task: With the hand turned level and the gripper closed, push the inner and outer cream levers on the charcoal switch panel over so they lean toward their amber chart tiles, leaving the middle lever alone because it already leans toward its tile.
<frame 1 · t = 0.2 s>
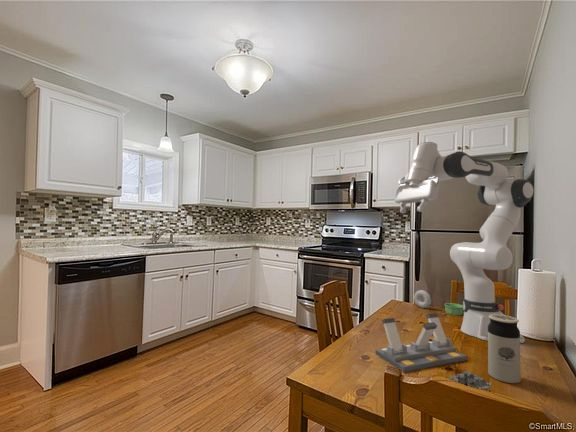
hand: (410, 212, 118), 51 cm above the table, tool tilted 20°, fingers open, 8 cm apart
lever inner: (437, 328, 110), point 8 cm above the table, hinge at -28.0°
lever outer: (392, 334, 103), point 8 cm above the table, hinge at -28.0°
travel mug: (503, 378, 91), on the table
ramekin: (453, 313, 159), on the table
switch panel: (420, 357, 105), on the table
lever middle: (425, 336, 103), point 8 cm above the table, hinge at 28.0°
egg carton: (468, 393, 83), on the table
donut: (422, 308, 169), on the table
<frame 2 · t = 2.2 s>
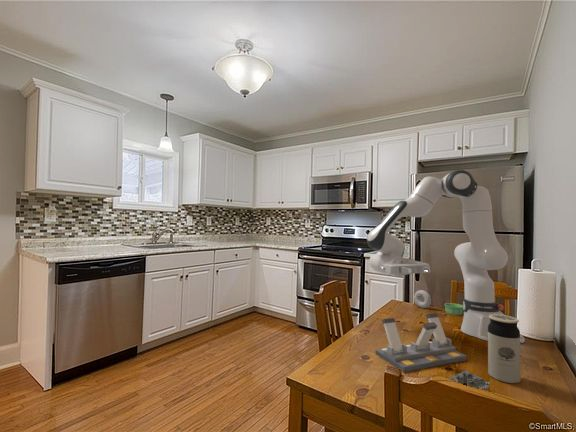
hand: (420, 271, 118), 28 cm above the table, tool horizontal, fingers open, 7 cm apart
nothing on the table moved.
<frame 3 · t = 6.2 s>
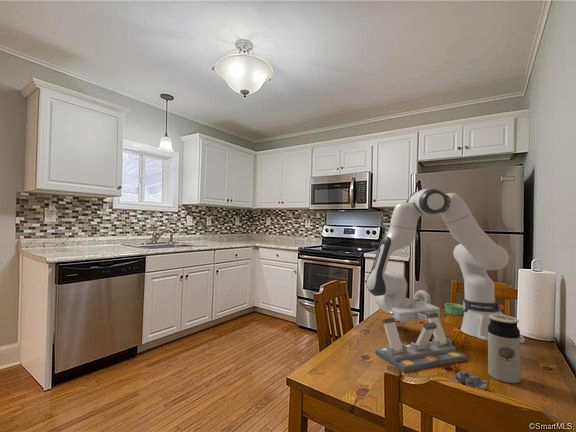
hand: (431, 318, 113), 11 cm above the table, tool horizontal, fingers closed, pressing on lever inner
lever inner: (437, 328, 110), point 8 cm above the table, hinge at -27.4°, touching gripper
everything else where it was.
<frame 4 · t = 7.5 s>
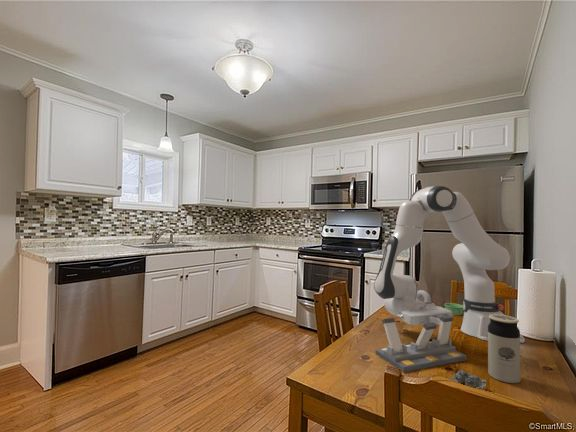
hand: (443, 322, 107), 11 cm above the table, tool horizontal, fingers closed, pressing on lever inner
lever inner: (444, 330, 107), point 8 cm above the table, hinge at 13.0°, touching gripper
everything else where it was.
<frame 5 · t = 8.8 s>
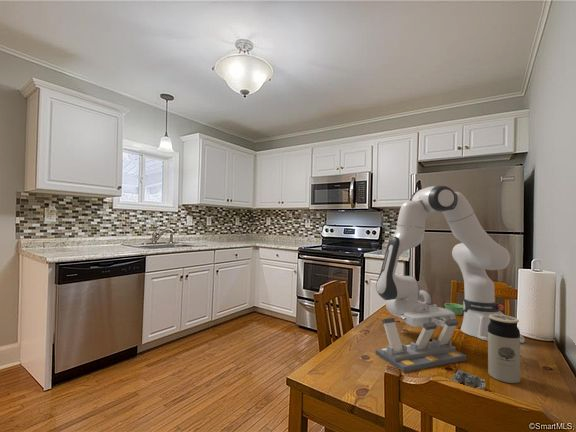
hand: (447, 324, 106), 11 cm above the table, tool horizontal, fingers closed
lever inner: (446, 332, 106), point 8 cm above the table, hinge at 26.6°
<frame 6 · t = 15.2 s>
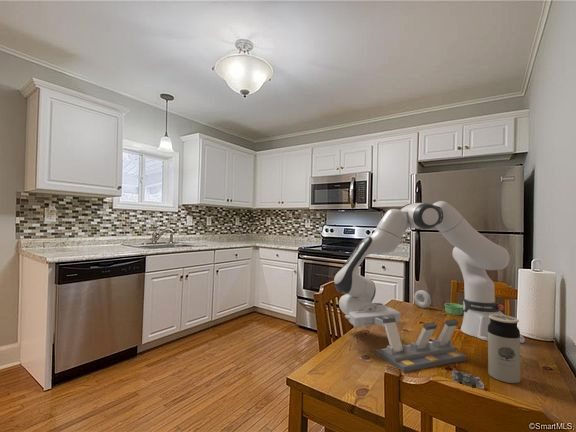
hand: (387, 324, 106), 11 cm above the table, tool horizontal, fingers closed, pressing on lever outer
lever outer: (392, 334, 103), point 8 cm above the table, hinge at -25.7°, touching gripper
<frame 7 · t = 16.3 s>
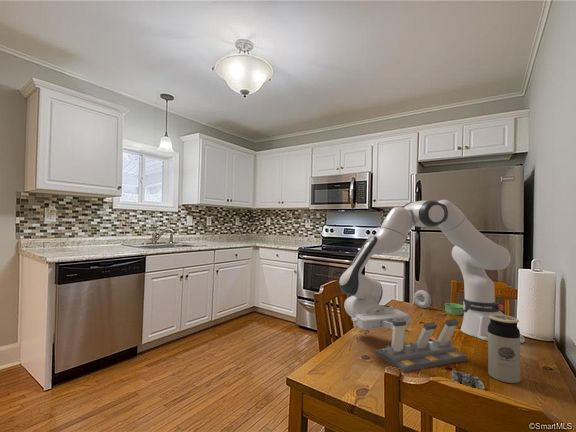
hand: (397, 327, 101), 11 cm above the table, tool horizontal, fingers closed, pressing on lever outer
lever outer: (398, 336, 101), point 8 cm above the table, hinge at 7.1°, touching gripper
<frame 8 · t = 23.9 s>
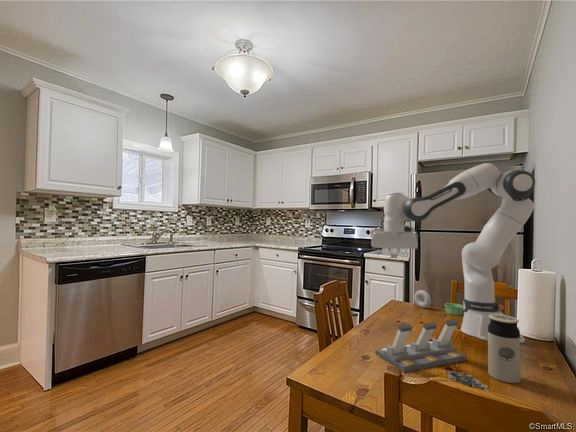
hand: (393, 258, 138), 31 cm above the table, tool pointing down, fingers closed
lever outer: (401, 338, 100), point 8 cm above the table, hinge at 24.5°
at the end: lever inner at +27° (first picture: -28°); lever outer at +24° (first picture: -28°); lever middle at +28° (first picture: +28°) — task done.
